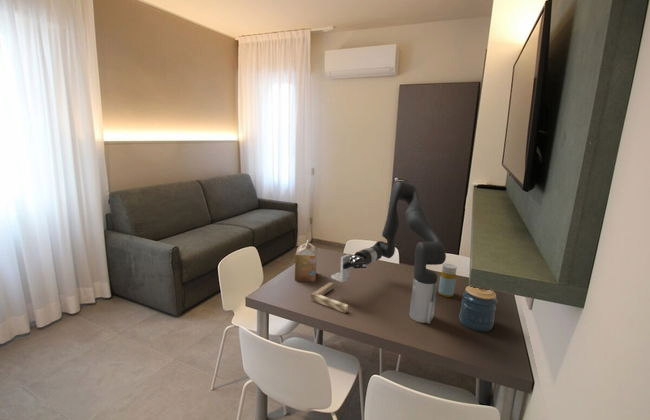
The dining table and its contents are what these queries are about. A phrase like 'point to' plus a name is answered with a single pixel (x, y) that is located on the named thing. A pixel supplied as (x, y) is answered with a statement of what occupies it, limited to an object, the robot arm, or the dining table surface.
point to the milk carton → (305, 262)
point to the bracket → (343, 270)
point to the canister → (478, 309)
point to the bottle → (447, 280)
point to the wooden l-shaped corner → (326, 301)
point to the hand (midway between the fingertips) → (342, 266)
